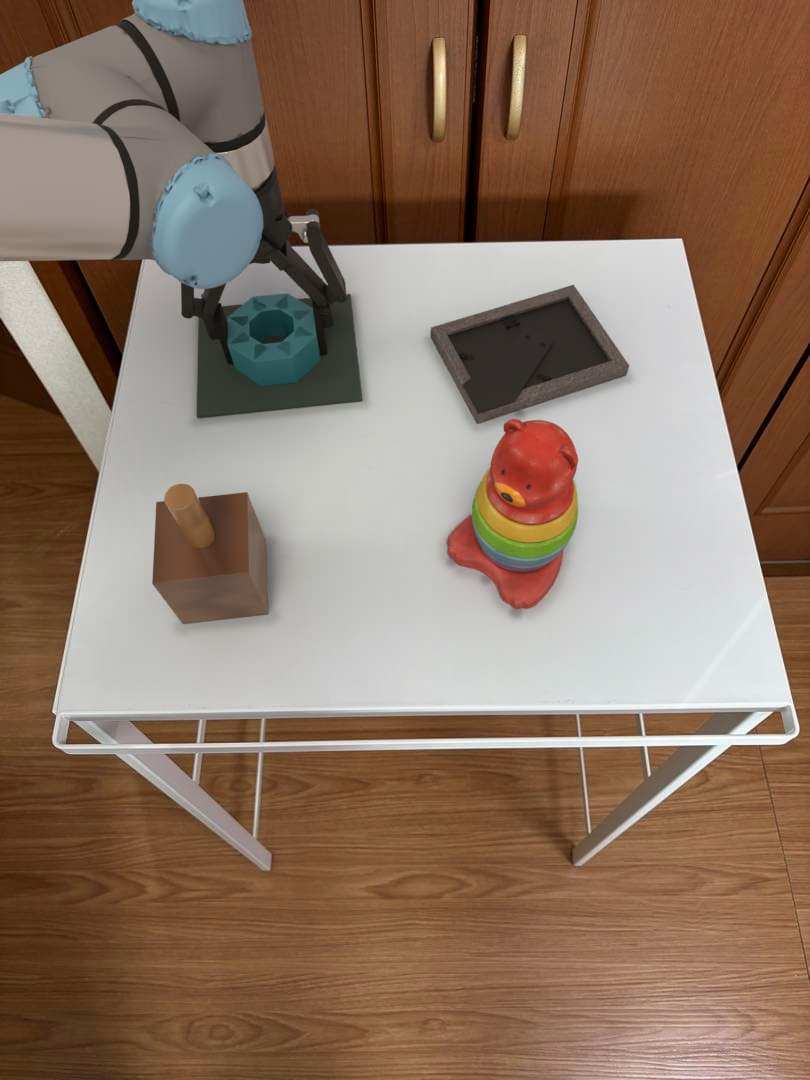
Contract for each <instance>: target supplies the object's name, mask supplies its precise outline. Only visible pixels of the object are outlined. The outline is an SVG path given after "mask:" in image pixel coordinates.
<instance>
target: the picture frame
mask: <svg viewBox="0 0 810 1080" xmlns="http://www.w3.org/2000/svg"><path fill="white" fill-rule="evenodd" d="M430 339H431V341H432V342H433V345H434V346H435V348H436V350H437V352H438V354H439V356H440V358H441V360H442V361H443V363H444V366H445V367H446V369H447V370H448V372H449V374H450V376H451V378H452V380H453V382H454V384H455V385H456V387H457V390H458V391H459V393H460V395H461V397H462V399H463V401H464V402H465V404H466V406H467V408H468V410H469V412H470V414H471V415H472V417H473V419H474V421H475V424H476V425H479V424H481V423H485V422H488V421H490V420H494V419H497V418H500V417H503V416H506V415H509V414H512V413H515V412H519V411H522V410H524V409H528V408H531V407H534V406H536V405H541V404H543V403H546V402H549V401H552V400H555V399H559V398H561V397H565V396H567V395H570V394H574V393H576V392H580V391H582V390H583V391H584V390H586V389H590V388H593V387H596V386H598V385H602V384H605V383H608V382H611V381H614V380H616V379H621V378H623V377H626V376H627V374H628V371H629V369H630V365H629V363H628V361H627V360H626V359H625V357H624V356H623V354H622V353H621V352H620V349H619V348H618V347H617V345H616V344H615V343H614V342H613V339H612V338H611V336H610V335H609V334H608V333H607V331H606V329H605V328H604V327H603V325H602V324H601V322H600V321H599V320H598V318H597V317H596V315H595V314H594V312H593V311H592V309H591V308H590V306H589V305H588V303H587V302H586V301H585V299H584V297H583V296H582V294H581V293H580V292H579V290H578V289H577V288H576V286H575V284H571V285H568V286H564V287H562V288H558V289H554V290H551V291H547V292H545V293H541V294H537V295H535V296H531V297H527V298H524V299H522V300H517V301H514V302H511V303H508V304H504V305H501V306H498V307H494V308H491V309H488V310H484V311H481V312H478V313H475V314H471V315H469V316H465V317H462V318H458V319H455V320H451V321H448V322H444V323H442V324H437V325H435V326H431V327H430Z"/></svg>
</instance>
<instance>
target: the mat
mask: <svg viewBox="0 0 810 1080" xmlns="http://www.w3.org/2000/svg"><path fill="white" fill-rule="evenodd" d="M346 294H347V300H346V301H345V302H342V303H340V302H337V301H336V302H334V303H333V304H332V305H331V307H332V313H333V326H332V327H328V328H325V334H326V343H327V354H323V355H321V353H320V357H321V360H320V362H319V363H318V364H316V365H315V366H314V367H313V368H312V369H311V370H310V371H309V372H308V373H307V374H306V375H305V376H303V377H302V378H301V379H300V380H299V381H298V382H297V383H288V384H278V385H268V386H260V385H259V384H257V383H256V382H254V381H253V380H251V379H250V378H248V377H247V376H245V375H244V374H242V373H241V372H239V371H237V370H236V369H235V366H234V364H228V363H227V360H226V357H225V354H224V351H223V348H222V345H221V342H220V339H216V340H212V339H211V338H210V337H209V335H208V333H207V330H206V327H205V324H204V321H203V320H202V319H201V318H200V317H198V321H197V323H198V324H197V325H198V326H197V327H198V328H197V329H198V332H197V373H196V374H197V375H196V376H197V377H196V378H197V379H196V418H197V419H202V418H212V417H213V418H214V417H224V416H233V415H243V414H252V413H262V412H269V411H270V412H271V411H282V410H290V409H299V408H300V409H301V408H310V407H318V406H329V405H336V404H337V405H338V404H347V403H357V402H363V394H362V386H361V376H360V367H359V359H358V349H357V341H356V331H355V325H354V323H355V322H354V316H353V315H354V314H353V305H352V298H351V297H352V295H351V293H346ZM297 299H298V300H300V301H301V302H303V303H305V304H307V305H308V306H310V307H312V308H313V304H312V299H311V298H310V297H306V298H305V297H304V298H303V297H302V298H297ZM243 304H244V303H242V304H234V305H233V304H231V305H222V308H223V311H224V314H225V317H226V320H227V318H228V317H229V316H230V315H231V314H232V313H233V312H235V311H236V310H237V309H238V308H239V307H241V306H242V305H243ZM287 337H288V336H286V335H280V336H270V337H267V338H266V339H265V340H264V341H263V342H261V343H262V344H268V343H278V342H282V341H283V340H285V339H286V338H287Z"/></svg>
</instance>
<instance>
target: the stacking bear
mask: <svg viewBox="0 0 810 1080" xmlns="http://www.w3.org/2000/svg"><path fill="white" fill-rule="evenodd" d="M503 432H504V434H503V435H502V437H500V440H499V441H498V442H497V444H496V446H495V448H494V451H493V452H492V456H491V459H490V465H489V467H488V469H487V470H486V472H485V473H484V475H483V477H482V479H481V481H480V482H479V484H478V486H477V488H476V491H475V493H474V497H473V500H472V506H471V514H470V515H469V516H467V517H466V518H465V519H463V520H462V521H461V522H460V523H459V524H458V525H457V526H456V527H455V528H454V529H453V530H452V531H451V532H450V534H449V535H448V537H447V540H446V546H447V555H448V556H449V557H450V558H451V559H452V560H453V561H454V562H455V564H457V565H458V566H461V567H464V568H470V569H474V570H477V571H479V572H481V573H483V574H485V575H486V576H487V577H488V578H489V579H490V580H491V581H492V582H493V583H494V585H495V586H496V589H497V591H498V594H499V597H500V598H501V600H502V601H503V602H504V603H506V604H509V605H510V606H511V607H512V608H513V609H515V610H519V609H525V610H528V609H531V608H534V607H535V606H537V605H538V604H539V603H540V602H542V600H543V599H544V598H545V597H546V596H547V594H548V593H549V592H550V590H551V589H552V587H553V586H554V584H555V583H556V580H557V577H558V576H559V573H560V570H561V567H562V564H563V563H562V562H563V558H564V557H563V555H564V549H565V548H566V546H567V545H568V543H570V540H571V538H572V537H573V535H574V533H575V530H576V528H577V523H578V517H579V501H578V491H577V486H576V485H577V484H576V483H575V480H574V478H575V475H576V473H577V468H578V464H579V455H578V453H577V449H576V446H575V443H574V442H573V440H572V438H571V437H570V436H569V434H568V433H567V431H566V430H564V429H563V427H561V426H560V425H558V424H556V423H554V422H552V421H548V420H542V419H532V420H526V421H522V420H521V419H517V418H511V419H508V420H507V421H505V422H504V423H503Z"/></svg>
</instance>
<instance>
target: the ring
mask: <svg viewBox="0 0 810 1080" xmlns="http://www.w3.org/2000/svg"><path fill="white" fill-rule="evenodd" d="M298 299H299V298H296V297H295V296H293V295H292V294H290V293H289V292H288V293H286V292H285V293H278V294H265V295H255V296H251V297H250V298H249V299H248V300H247V301H245V302H244V303H242V304H243V305H242V304H241V305H242V306H241V307H239V308H238V309H237V310H236V311H235V312H233V313H232V314H231V315H230V316H229V317H228V318H227V345H228V348H229V351H230V354H231V357H232V360H233V363H234V366H235V369H236V370H237V371H239V372H241V373H242V374H244V375H245V376H247V377H248V378H250V379H251V380H253V381H254V382H256V383H257V384H259V385H260V386H268V385H278V384H288V383H297V382H298V381H299V380H300V379H301V378H302V377H303V376H305V375H306V374H307V373H308V372H309V371H310V370H311V369H312V368H313V367H314V366H315V365H316V364H318V363H319V362H320V360H321V357H320V347H319V342H318V336H317V331H316V325H315V320H314V314H313V308H312V307H310V306H308V305H307V304H305V303H303V302H301V301H300V300H298ZM280 335H286V336H288V337H287V338H286V339H285V340H283V341H282V342H278V343H268V344H262V343H261V342H263V341H264V340H265V339H266V338H267V337H270V336H280Z"/></svg>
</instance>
